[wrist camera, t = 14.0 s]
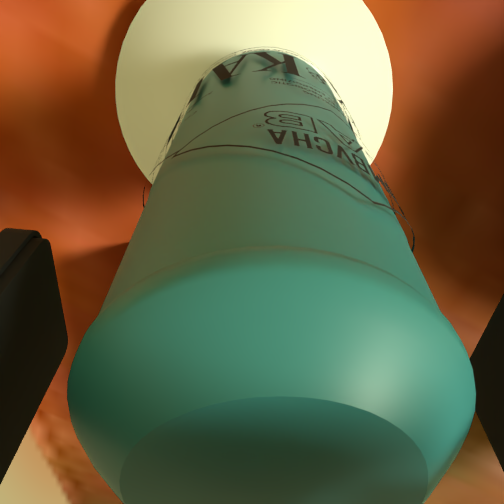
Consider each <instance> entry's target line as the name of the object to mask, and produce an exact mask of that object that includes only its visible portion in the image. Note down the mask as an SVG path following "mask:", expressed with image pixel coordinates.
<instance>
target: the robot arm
mask: <svg viewBox="0 0 504 504" xmlns="http://www.w3.org/2000/svg"><path fill="white" fill-rule="evenodd" d="M67 344H68V336H67V330H66V325H65V320H64V314H63V309H62V304H61V298H60V293H59V288H58V282H57V277H56V272H55V266H54V261H53V255H52V250H51V245H50V242H49V241H48V240H47V239H42V237H41V235H40V233H39V232H38V231H34V230H23V229H12V228H6V229H4V230H3V231H1V232H0V484H1V482H2V480H3V478H4V476H5V474H6V472H7V470H8V468H9V466H10V464H11V462H12V460H13V458H14V456H15V454H16V452H17V450H18V448H19V446H20V444H21V442H22V440H23V438H24V435H25V434H26V432H27V430H28V428H29V426H30V424H31V422H32V420H33V418H34V416H35V414H36V412H37V409H38V407H39V405H40V403H41V401H42V399H43V397H44V395H45V393H46V391H47V389H48V387H49V385H50V383H51V381H52V379H53V377H54V375H55V373H56V371H57V369H58V367H59V365H60V363H61V361H62V359H63V357H64V355H65V352H66V349H67ZM469 360H470V362H471V365H472V368H473V374H474V381H475V389H476V403H475V411H476V413H477V415H478V417H479V419H480V421H481V424H482V426H483V428H484V430H485V432H486V434H487V437H488V439H489V441H490V443H491V445H492V447H493V450H494V452H495V454H496V456H497V458H498V460H499V463H500V465H501V467H502V469H503V471H504V294H503V296H502V298H501V300H500V302H499V304H498V306H497V308H496V309H495V311H494V313H493V315H492V317H491V319H490V321H489V323H488V325H487V327H486V329H485V331H484V333H483V334H482V336H481V338H480V340H479V342H478V344H477V346H476V348H475V350H474V352H473V354H472V356H471V357H470V359H469Z"/></svg>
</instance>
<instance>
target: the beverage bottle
mask: <svg viewBox="0 0 504 504" xmlns="http://www.w3.org/2000/svg"><path fill="white" fill-rule="evenodd" d="M255 48H259V47H255ZM273 48H276V47H273ZM249 49H251V48H249ZM280 49H282V48H280ZM244 50H246V49H244ZM256 50H258V49H256ZM256 50H253V51H252V50H251V52H249V51H250V50H249V51H247V52H246V51H245V52H246V53H245V52H244V53H243V52H242V54H239V55H236V54H235V55H236V56H234V57H231V58H229V59H228V60H226V61H224V60H223V61H224V62H222V63H221V64H219V65H218V66H216V67H215V68H213V69H212V71H211V72H210V71H209V72H210V73H209V74H208V75H207V76H206V77H205V78H204V77H203V78H204V80H203V78H202V79H201V80H200V79H198V81H199V80H200V81H199V82H198V83H197V85H196V84H195V85H196V87H195V89H194V92H193V94H192V96H191V98H190V100H189V102H188V104H189V103H190V105H189V107H188V109H187V111H186V113H185V115H184V114H183V115H184V118H183V117H182V116H183V115H182V116H181V114H180V116H181V117H182V118H183V120H182V122H180V121H181V120H180V116H179V118H178V120H177V122H176V124H175V126H174V128H173V130H172V132H171V133H170V136H168V137H169V139H167V140H168V143H169V141H170V139H171V138H172V142H171V146H170V148H169V150H168V152H167V154H166V153H165V156H166V157H165V159H164V160H163V161H162V162H163V163H162V162H161V161H160V162H161V163H162V165H161V167H160V168H159V172H158V174H157V176H156V178H155V180H154V183H153V185H152V187H151V190H150V193H149V197H148V200H147V203H146V205H145V206H144V192H143V207H144V210H143V212H142V214H141V217H140V219H139V221H138V224H137V226H136V228H135V231H134V233H133V235H132V238H131V240H130V242H129V245H128V247H127V249H126V252H125V254H124V256H123V259H122V261H121V263H120V266H119V268H118V270H117V273H116V275H115V277H114V280H113V282H112V284H111V287H110V289H109V291H108V294H107V296H106V298H105V301H104V303H103V305H102V308H101V310H100V312H99V315H98V316H97V318H96V319H95V320H94V322H93V323H92V324H91V325H90V327H89V328H88V330H87V331H86V333H85V335H84V337H83V339H82V341H81V343H80V345H79V348H78V350H77V352H76V354H75V357H74V360H73V362H72V366H71V370H70V374H69V378H68V387H67V400H68V406H69V411H70V417H71V422H72V425H73V428H74V430H75V433H76V435H77V438H78V439H79V441H80V443H81V445H82V447H83V448H84V450H85V452H86V454H87V455H88V457H89V459H90V461H91V463H92V464H93V466H94V468H95V469H96V470H97V472H98V473H99V474H100V475H101V477H102V478H103V479H104V480H105V482H106V483H107V484H108V485H109V487H110V488H111V489H112V490H113V492H114V493H115V494H116V495H117V496H118V497H119V499H120V500H121V501H122V502H123V503H124V504H423V503H424V502H425V501H426V500H427V498H428V497H429V496H430V495H431V493H432V492H433V490H434V489H435V487H436V486H437V484H438V483H439V481H440V480H441V479H442V477H443V476H444V474H445V473H446V471H447V470H448V468H449V467H450V465H451V464H452V462H453V461H454V460H455V458H456V456H457V454H458V453H459V451H460V449H461V447H462V445H463V443H464V441H465V439H466V436H467V434H468V432H469V429H470V427H471V423H472V420H473V416H474V412H475V403H476V389H475V381H474V374H473V368H472V365H471V362H470V360H469V357H468V354H467V351H466V349H465V347H464V345H463V343H462V341H461V340H460V338H459V336H458V335H457V333H456V331H455V330H454V328H453V326H452V325H451V323H450V322H449V321H448V320H447V319H446V317H445V316H444V315H443V314H442V313H441V311H440V309H439V307H438V305H437V303H436V301H435V299H434V297H433V295H432V293H431V291H430V288H429V286H428V284H427V282H426V280H425V278H424V276H423V274H422V272H421V270H420V268H419V266H418V263H417V261H416V259H415V257H414V255H413V249H414V241H415V237H414V234H413V247H412V250H411V249H410V247H409V244H408V241H407V238H406V236H405V234H404V231H403V230H402V228H401V226H400V224H399V222H398V220H397V218H396V216H395V212H396V213H398V214H400V213H399V212H398V211H396V210H394V207H393V209H392V208H391V206H390V204H389V202H388V200H387V198H386V196H385V194H384V192H383V190H382V188H381V186H380V184H379V180H380V179H381V177H380V176H379V177H380V179H379V177H378V176H377V175H376V176H375V174H374V172H373V170H372V169H371V167H370V165H369V163H368V161H367V159H366V157H365V155H364V153H363V151H362V149H363V147H360V145H359V143H358V141H357V139H356V136H355V134H356V133H355V132H354V131H353V128H352V125H351V123H350V120H349V116H348V115H347V117H348V118H347V117H346V116H345V114H344V112H345V111H344V112H343V111H342V108H341V107H340V104H339V103H338V102H337V100H338V99H337V100H336V98H335V96H334V94H333V92H332V90H331V88H330V87H329V85H328V84H327V82H326V81H325V79H324V78H323V77H322V76H321V75H320V74H319V73H318V72H317V71H316V70H315V69H314V68H313V67H312V66H310V65H309V64H307V63H306V62H305V61H303V60H301V59H299V58H297V57H295V56H293V55H290V54H287V53H288V52H287V51H286V52H287V53H284V52H283V51H282V52H279V51H280V50H278V51H277V50H276V49H274V50H276V51H272V50H270V49H267V50H265V49H263V50H261V49H259V51H256ZM285 50H286V49H285ZM240 51H242V50H240ZM288 51H289V50H288ZM238 52H239V51H238ZM291 52H292V51H291ZM235 53H236V52H235ZM289 53H290V52H289ZM294 53H295V52H294ZM232 54H233V53H232ZM291 54H292V53H291ZM297 54H298V53H297ZM294 55H295V54H294ZM232 56H233V55H232ZM296 56H298V55H296ZM229 57H230V56H229ZM299 57H300V56H299ZM300 58H302V57H300ZM222 59H223V58H222ZM226 59H227V58H226ZM302 59H303V58H302ZM220 60H221V59H220ZM304 60H305V59H304ZM307 61H308V60H307ZM217 62H218V61H217ZM218 63H219V62H218ZM312 63H313V62H312ZM312 63H311V64H312ZM213 65H214V64H213ZM215 65H217V64H215ZM215 65H214V66H215ZM315 65H316V64H315ZM316 66H317V65H316ZM211 68H212V67H211ZM211 68H210V69H211ZM207 70H208V69H207ZM207 70H206V71H207ZM319 70H320V69H319ZM206 71H205V72H206ZM320 71H321V70H320ZM205 72H204V73H205ZM321 72H322V71H321ZM321 72H320V73H321ZM206 73H207V72H206ZM206 73H205V74H206ZM321 74H322V73H321ZM323 74H324V73H323ZM202 75H203V74H202ZM324 75H325V74H324ZM325 76H326V75H325ZM325 76H324V77H325ZM327 77H328V76H327ZM325 78H326V77H325ZM326 79H327V78H326ZM202 80H203V81H202ZM327 80H328V79H327ZM328 81H329V80H328ZM329 83H330V84H331V82H330V81H329ZM331 86H332V87H333V85H332V84H331ZM193 88H194V87H193ZM333 89H334V90H335V89H336V88H334V87H333ZM335 91H336V90H335ZM191 92H192V90H191ZM336 93H337V91H336ZM337 94H339V93H337ZM338 96H339V95H338ZM339 97H340V96H339ZM187 99H188V98H187ZM340 99H341V98H340ZM338 101H339V102H340V103H341V104H342V103H343V101H342V100H338ZM188 104H187V106H188ZM343 104H344V103H343ZM184 106H185V105H184ZM187 106H186V107H187ZM342 106H343V107H344V106H345V104H344V105H342ZM345 107H346V106H345ZM184 108H185V107H184ZM343 109H344V108H343ZM346 109H347V108H346ZM346 109H344V110H346ZM182 110H183V109H182ZM347 111H348V110H347ZM183 112H184V111H183ZM181 113H182V112H181ZM345 113H347V112H345ZM350 116H351V115H350ZM346 118H347V119H348V121H347V119H346ZM351 118H352V117H351ZM351 118H350V119H351ZM352 120H353V119H352ZM178 122H180V123H181V124H180V123H179V125H180V126H178V127H177V124H178ZM352 123H354V121H353V122H352ZM354 124H355V123H354ZM176 127H177V128H178V131H177V133H175V134H176V135H175V137H174V139H173V137H172V135H173V133H174V131H176V130H175V129H176ZM355 127H356V125H355ZM357 131H359V130H357ZM358 133H359V132H358ZM359 136H360V135H359ZM359 139H360V138H359ZM167 140H166V141H167ZM168 143H167V145H168ZM362 143H363V142H362ZM165 144H166V143H165ZM165 144H164V145H165ZM164 147H165V146H164ZM365 147H366V146H365ZM166 149H167V146H166ZM162 150H164V149H163V148H162ZM368 151H369V150H368ZM160 153H162V152H160ZM366 153H367V152H366ZM367 155H369V154H367ZM159 156H161V155H159ZM369 156H370V155H369ZM158 159H159V158H158ZM159 160H160V159H159ZM371 160H372V159H371ZM372 161H374V162H375V160H372ZM156 163H157V162H156ZM158 163H159V162H158ZM161 163H159V164H161ZM159 164H158V165H159ZM158 165H157V166H158ZM154 166H155V165H154ZM157 166H155V168H156V167H157ZM376 166H378V165H376ZM153 169H154V168H153ZM378 169H379V168H378ZM154 170H155V169H154ZM154 170H153V171H154ZM153 171H152V172H153ZM152 172H151V173H152ZM380 172H381V171H380ZM153 175H154V173H153ZM378 175H379V174H378ZM382 175H383V174H382ZM149 176H150V175H149ZM384 179H385V178H384ZM384 181H385V182H386V180H384ZM152 182H153V179H152ZM380 182H381V183H382V184H383V186H384V187H385V189H386V190H387V188H388V190H387V191H388V193H389V192H390V191H391V189H390V190H389V187H387V188H386V186H388V185H387V183H385V182H384V183H385V184H384V183H383V181H382V179H381V180H380ZM385 185H386V186H385ZM144 189H145V187H144ZM390 194H391V192H390ZM390 194H389V195H390ZM392 195H393V194H391V196H392ZM392 197H393V198H394V200H395V201H396V202H397V200H396V199H395V197H394V196H392ZM390 198H391V197H390ZM391 201H392V200H391ZM397 204H398V203H397ZM392 205H393V203H392ZM398 206H399V205H398ZM399 208H400V207H399ZM393 211H395V212H393ZM401 211H402V210H401ZM402 213H403V211H402ZM400 215H401V214H400ZM403 215H404V213H403ZM401 216H402V215H401ZM402 217H403V216H402ZM404 217H405V216H404ZM404 217H403V218H404ZM404 219H405V220H406V218H404ZM406 221H407V220H406ZM407 223H408V222H407ZM408 225H409V223H408ZM410 227H411V226H410ZM411 229H412V228H411ZM412 232H413V230H412Z"/></svg>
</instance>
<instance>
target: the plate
mask: <svg viewBox="0 0 504 504" xmlns="http://www.w3.org/2000/svg"><path fill="white" fill-rule="evenodd" d="M255 47H259V48H255ZM273 47H276V48H273ZM249 48H251V49H249ZM280 48H282V49H280ZM244 49H246V50H244ZM256 49H258V50H256ZM259 49H261V50H263V49H265V50H267V49H270V50H272V51H276V50H277V51H278V50H280V51H279V52H282V51H283V52H284V53H287V52H288V53H287V54H290V55H293V56H295V57H297V58H299V59H301V60H303V61H305V62H306V63H307V64H309V65H310V66H312V67H313V68H314V69H315V70H316V71H317V72H318V73H319V74H320V75H321V76H322V77H323V78H324V79H325V81H326V82H327V84H328V85H329V87H330V88H331V90H332V92H333V94H334V96H335V98H336V100H337V99H338V100H342V101H343V103H344V104H345V106H346V107H345V106H344V107H343V106H342V105H344V104H343V103H342V104H341V103H340V102H339V101H338V100H337V102H338V103H339V104H340V107H341V108H342V111H343V112H344V111H345V112H347V113H345V112H344V114H345V116H346V117H347V115H348V116H349V120H350V123H351V125H352V128H353V131H354V132H355V133H356V134H355V136H356V139H357V141H358V143H359V145H360V147H363V149H362V151H363V153H364V155H365V157H366V159H367V161H368V163H369V165H371V163H372V162H373V161H372V160H374V158H375V156H376V154H377V152H378V150H379V148H380V146H381V144H382V142H383V139H384V136H385V133H386V130H387V127H388V123H389V118H390V113H391V107H392V93H393V85H392V70H391V65H390V59H389V54H388V50H387V47H386V44H385V42H384V39H383V36H382V33H381V31H380V29H379V27H378V25H377V23H376V21H375V19H374V17H373V15H372V14H371V12H370V11H369V9H368V8H367V7H366V5H365V4H364V2H363V1H362V0H146V1H145V3H144V4H143V5H142V6H141V8H140V9H139V11H138V13H137V14H136V16H135V18H134V19H133V21H132V23H131V25H130V27H129V29H128V32H127V34H126V36H125V39H124V41H123V44H122V48H121V51H120V55H119V59H118V64H117V72H116V80H115V94H116V106H117V114H118V119H119V123H120V127H121V130H122V134H123V137H124V139H125V142H126V144H127V146H128V149H129V151H130V153H131V155H132V157H133V158H134V160H135V162H136V164H137V166H138V167H139V168H140V170H141V171H142V172H143V174H144V175H145V177H146V178H147V179H148V180H149V182H150V183H151V184H152V185H153V183H154V180H155V178H156V176H157V174H158V172H159V168H160V167H161V165H162V163H163V162H162V161H163V160H164V159H165V157H166V156H165V153H166V154H167V152H168V150H169V148H170V146H171V142H172V138H171V139H170V141H169V143H168V140H167V139H169V137H168V136H170V133H171V132H172V130H173V128H174V126H175V124H176V122H177V120H178V118H179V116H180V114H181V116H182V115H183V114H184V115H185V113H186V111H187V109H188V107H189V105H190V103H189V104H188V102H189V100H190V98H191V96H192V94H193V92H194V89H195V87H196V85H197V83H198V82H199V81H200V80H201V79H202V78H203V77H204V78H205V77H206V76H207V75H208V74H209V73H210V72H211V71H212V69H213V68H215V67H216V66H218V65H219V64H221V63H222V62H224V61H226V60H228V59H229V58H231V57H234V56H236V55H239V54H242V52H243V53H244V52H245V51H246V52H247V51H249V50H250V51H249V52H251V50H252V51H253V50H256V51H259ZM274 49H276V50H274ZM285 49H286V50H285ZM240 50H242V51H240ZM288 50H289V51H288ZM238 51H239V52H238ZM286 51H287V52H286ZM291 51H292V52H291ZM235 52H236V53H235ZM246 52H245V53H246ZM289 52H290V53H289ZM294 52H295V53H294ZM232 53H233V54H232ZM291 53H292V54H291ZM297 53H298V54H297ZM235 54H236V55H235ZM294 54H295V55H294ZM232 55H233V56H232ZM296 55H298V56H296ZM229 56H230V57H229ZM299 56H300V57H302V58H303V59H302V58H300V57H299ZM222 58H223V59H222ZM226 58H227V59H226ZM220 59H221V60H220ZM304 59H305V60H304ZM223 60H224V61H223ZM307 60H308V61H307ZM217 61H218V62H219V63H218V62H217ZM312 62H313V63H312ZM311 63H312V64H311ZM213 64H214V65H215V64H217V65H215V66H214V65H213ZM315 64H316V65H317V66H316V65H315ZM211 67H212V68H211ZM210 68H211V69H210ZM207 69H208V70H207ZM319 69H320V70H321V71H322V72H321V71H320V70H319ZM206 70H207V71H206ZM205 71H206V72H207V73H206V72H205ZM209 71H210V72H209ZM204 72H205V73H206V74H205V73H204ZM320 72H321V73H322V74H321V73H320ZM323 73H324V74H325V75H326V76H325V75H324V74H323ZM202 74H203V75H202ZM324 76H325V77H326V78H327V79H328V80H329V81H330V82H331V84H332V85H333V87H334V88H336V89H335V90H336V91H337V93H339V94H337V93H336V91H335V90H334V89H333V87H332V86H331V84H330V83H329V81H328V80H327V79H326V78H325V77H324ZM327 76H328V77H327ZM204 78H203V80H204ZM198 79H200V80H199V81H198ZM203 80H202V81H203ZM195 84H196V85H195ZM193 87H194V88H193ZM191 90H192V92H191ZM338 95H339V96H340V97H339V96H338ZM187 98H188V99H187ZM340 98H341V99H340ZM187 104H188V106H187ZM184 105H185V106H184ZM186 106H187V107H186ZM184 107H185V108H184ZM343 108H344V109H346V108H347V109H346V110H344V109H343ZM182 109H183V110H182ZM347 110H348V111H347ZM183 111H184V112H183ZM181 112H182V113H181ZM184 115H183V116H182V117H183V118H184ZM350 115H351V116H350ZM181 116H180V120H181V121H180V122H182V120H183V118H182V117H181ZM351 117H352V118H351ZM347 118H348V117H347ZM347 118H346V119H347ZM350 118H351V119H350ZM352 119H353V120H352ZM347 121H348V119H347ZM353 121H354V123H355V124H354V123H352V122H353ZM180 122H178V124H177V127H178V126H180V125H179V123H180ZM180 124H181V123H180ZM355 125H356V127H355ZM177 127H176V129H175V130H176V131H174V133H173V135H172V137H173V139H174V137H175V135H176V134H175V133H177V131H178V128H177ZM357 130H359V131H357ZM358 132H359V133H358ZM359 135H360V136H359ZM359 138H360V139H359ZM166 140H167V141H166ZM362 142H363V143H362ZM165 143H166V144H165ZM167 143H168V145H167ZM164 144H165V145H164ZM164 146H165V147H164ZM166 146H167V149H166ZM365 146H366V147H365ZM162 148H163V149H164V150H162ZM368 150H369V151H368ZM160 152H162V153H160ZM366 152H367V153H366ZM367 154H369V155H370V156H369V155H367ZM159 155H161V156H159ZM158 158H159V159H160V160H159V159H158ZM371 159H372V160H371ZM160 161H161V162H162V163H161V162H160ZM156 162H157V163H156ZM158 162H159V163H161V164H159V163H158ZM158 164H159V165H158ZM154 165H155V166H157V165H158V166H157V167H156V168H155V166H154ZM153 168H154V169H155V170H154V169H153ZM153 170H154V171H153ZM152 171H153V172H152ZM151 172H152V173H151ZM153 173H154V175H153ZM149 175H150V176H149ZM152 179H153V182H152Z"/></svg>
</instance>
